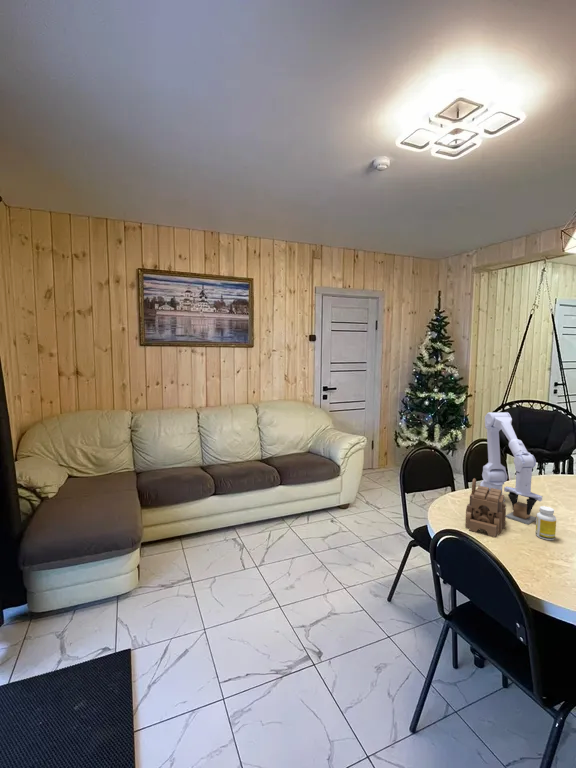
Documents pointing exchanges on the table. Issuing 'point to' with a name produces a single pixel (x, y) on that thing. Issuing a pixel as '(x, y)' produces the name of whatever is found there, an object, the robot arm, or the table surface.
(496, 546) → the table surface
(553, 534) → the pill bottle
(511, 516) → the slate coaster
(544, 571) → the table surface
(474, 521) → the wooden puzzle
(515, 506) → the walnut cube
